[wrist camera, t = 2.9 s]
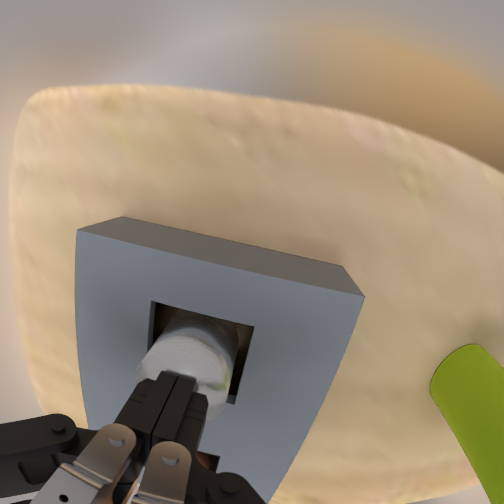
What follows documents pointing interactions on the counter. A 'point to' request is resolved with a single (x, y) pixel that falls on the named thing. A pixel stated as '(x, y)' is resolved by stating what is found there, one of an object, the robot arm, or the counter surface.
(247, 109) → the counter surface
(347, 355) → the counter surface
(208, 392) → the steel plug
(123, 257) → the plug board
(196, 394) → the robot arm
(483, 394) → the soap dispenser
